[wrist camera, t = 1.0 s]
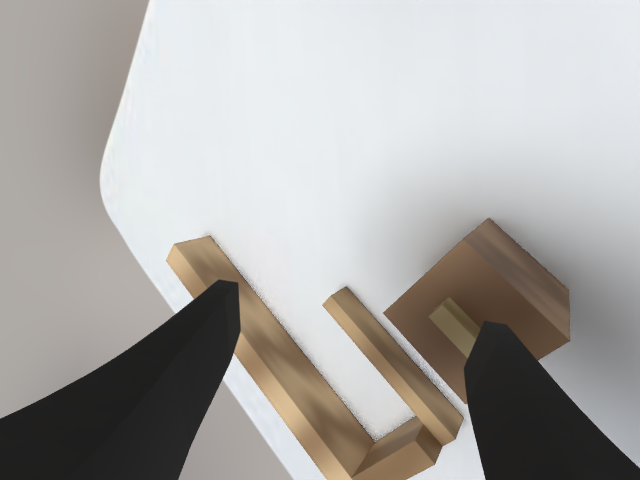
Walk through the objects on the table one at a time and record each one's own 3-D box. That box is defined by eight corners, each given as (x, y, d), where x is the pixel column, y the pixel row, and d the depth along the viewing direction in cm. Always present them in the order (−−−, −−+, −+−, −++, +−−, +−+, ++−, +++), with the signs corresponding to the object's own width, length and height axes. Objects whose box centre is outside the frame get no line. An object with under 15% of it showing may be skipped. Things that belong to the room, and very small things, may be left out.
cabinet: (569, 289, 18) (570, 353, 12) (489, 344, 20) (459, 417, 15) (489, 217, 19) (456, 244, 13) (424, 277, 22) (373, 320, 16)
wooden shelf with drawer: (463, 418, 22) (448, 457, 19) (372, 471, 27) (348, 509, 24) (244, 172, 28) (208, 174, 25) (201, 251, 32) (165, 260, 30)
